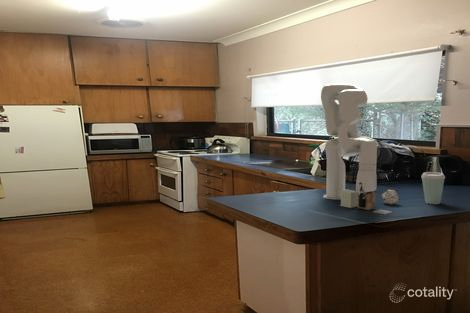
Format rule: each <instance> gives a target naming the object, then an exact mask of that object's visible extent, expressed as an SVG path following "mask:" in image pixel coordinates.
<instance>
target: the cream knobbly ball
mask: <svg viewBox="0 0 470 313" xmlns="http://www.w3.org/2000/svg"><path fill="white" fill-rule="evenodd" d="M397 191H398V189H395V190H394V189H390V188H389V187H387V189H386V190H385V191H384V192H383V193H380V194H379V195H380V196H381V198H382V199H383V204H387V205H392V206H393V205H394V204H395V203H396V202H398V201H401V199H400V197H399V194H398V193H397Z"/></svg>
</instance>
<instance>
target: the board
mask: <svg viewBox="0 0 470 313" xmlns="http://www.w3.org/2000/svg"><path fill="white" fill-rule="evenodd" d="M339 206H340V207H342V206H341V204H340V205H339ZM343 207H345V208H347V207H346V206H343ZM356 207H357V206H355V207H348V208H349V209H352V208H356ZM368 211H369V212H370V211H372V212H373V213H375V214H379V215H384V216H385V215H389V214H392V213H394V212H393V211H391V210H386V209H377V210H374V211H373V210H372V209H369V210H368Z"/></svg>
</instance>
